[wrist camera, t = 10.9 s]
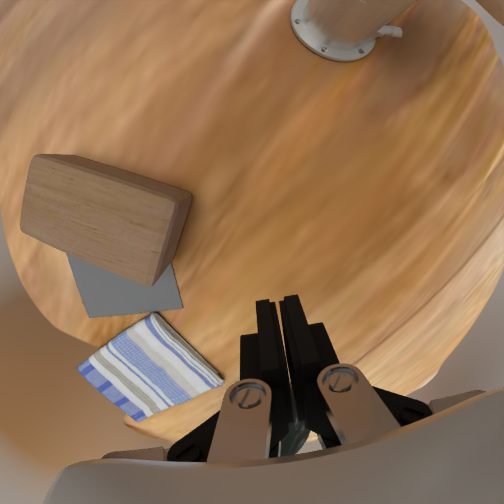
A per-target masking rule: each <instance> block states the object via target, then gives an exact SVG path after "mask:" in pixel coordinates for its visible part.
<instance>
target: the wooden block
mask: <svg viewBox="0 0 504 504" xmlns="http://www.w3.org/2000/svg"><path fill="white" fill-rule="evenodd" d="M191 202H192V197H191V194H189V193H188V192H187V191H185V190H182V189H179V188H176V187H173V186H170V185H167V184H164V183H161V182H158V181H155V180H152V179H149V178H146V177H143V176H140V175H137V174H133V173H130V172H127V171H124V170H121V169H118V168H114V167H111V166H108V165H105V164H102V163H98V162H95V161H92V160H88V159H85V158H82V157H78V156H75V155H61V154H38V155H35V156H33V158H32V160H31V162H30V167H29V171H28V176H27V181H26V186H25V192H24V198H23V205H22V212H21V220H20V228H21V231H22V232H23V233H25V234H27V235H29V236H31V237H33V238H35V239H37V240H39V241H42V242H44V243H46V244H48V245H50V246H52V247H54V248H56V249H59V250H61V251H63V252H65V253H67V254H70V255H72V256H74V257H76V258H79V259H81V260H83V261H86V262H88V263H90V264H92V265H95V266H97V267H100V268H102V269H104V270H107V271H109V272H112V273H114V274H117V275H119V276H121V277H124V278H126V279H129V280H132V281H134V282H137V283H139V284H142V285H144V286H153V285H154V284H155V283H156V282H157V281H158V279H159V278H160V276H161V275H162V274H163V272H164V271H165V270H166V268H167V267H168V265H169V264H170V263H171V261H172V260H173V258H174V255H175V252H176V249H177V245H178V242H179V239H180V236H181V232H182V229H183V226H184V223H185V220H186V217H187V214H188V211H189V208H190V205H191Z"/></svg>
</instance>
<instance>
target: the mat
mask: <svg viewBox="0 0 504 504" xmlns="http://www.w3.org/2000/svg"><path fill="white" fill-rule="evenodd" d="M67 256H68V260H69V263H70V266H71V269H72V272H73V276H74V279H75V281H76V284H77V287H78V290H79V293H80V296H81V298H82V301H83V304H84V306H85V309H86V311H87V314H88V316H89V318H93V317H105V316H117V315H127V314H137V313H147V312H156V311H165V310H174V309H182V308H183V304H182V301H181V297H180V293H179V290H178V286H177V282H176V278H175V275H174V271H173V267H172V263H170V264H169V265H168V267H167V268H166V270H165V271H164V272H163V274H162V275H161V276H160V278H159V279H158V281H157V282H156V283H155V284H154V285H153V286H144V285H142V284H139V283H137V282H134V281H132V280H129V279H126V278H124V277H121V276H119V275H117V274H114V273H112V272H109V271H107V270H104V269H102V268H100V267H97V266H95V265H92V264H90V263H88V262H86V261H83V260H81V259H79V258H76V257H74V256H72V255H70V254H67Z"/></svg>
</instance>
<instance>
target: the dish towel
mask: <svg viewBox="0 0 504 504" xmlns="http://www.w3.org/2000/svg"><path fill="white" fill-rule="evenodd" d="M77 370H78V371H79V372H80V373H81V374H82V375H83V376H84V377H85V379H86V380H88V382H90V383H91V384H92V385H93V386H94V387H95V388H96V389H97V390H98V391H99V392H100V393H102V394H103V395H104V396H105V397H106V398H108V399H109V400H110V401H111V402H112V403H114V404H115V405H116V406H118V407H119V408H120V409H121V410H122V411H124V412H125V413H126V414H128V415H129V416H130V417H131V418H133V419H134V420H135V421H137V422H140V421H142V420H144V419H145V418H147V417H149V416H151V415H153V414H157V413H160V412H162V411H164V410H165V409H167V408H168V407H170V406H174V405H179V404H181V403H184V402H186V401H189V400H190V399H193V398H194V397H196V396H198V395H200V394H202V393H204V392H205V391H208V390H210V389H212V388H217V387H218V386H222V385H223V384H224V381H223V380H222V379H221V378H220V377H219V376H218V375H217V374H218V371H216V370H215V369H214V368H213V367H212V366H211V365H209V364H208V363H207V362H206V361H205V360H204V359H203V358H202V357H201V356H200V355H199V354H198V353H197V352H196V351H195V350H194V349H193V348H192V347H191V346H190V345H189V344H188V343H187V342H186V341H185V340H184V339H183V338H182V337H181V336H180V335H179V334H178V333H176V332H175V331H174V330H173V329H172V328H171V327H170V326H169V325H168V324H167V323H166V322H165V321H164V320H163V319H162V318H161V317H160V316H159V315H158V314H157V313H152V314H150V315H149V316H147V317H146V318H145V319H143V320H140V321H139V322H137V323H136V324H134V325H133V326H131V327H130V328H128V329H126V330H124V331H122V332H121V333H120V334H119V335H117V336H116V337H115V338H114V339H112V340H111V341H110V342H109V343H108V344H106V345H105V346H104V347H102V348H100V349H98V350H97V351H96V352H95V353H94V354H93V355H91V356H90V357H89V358H88V359H86V360H85V361H84V362H82V363H81V364H80V365H79V366H77Z"/></svg>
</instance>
